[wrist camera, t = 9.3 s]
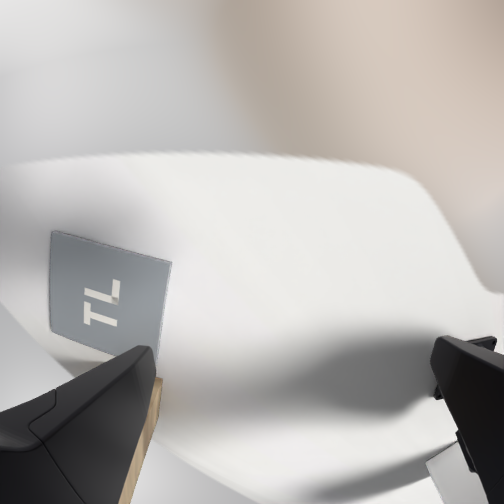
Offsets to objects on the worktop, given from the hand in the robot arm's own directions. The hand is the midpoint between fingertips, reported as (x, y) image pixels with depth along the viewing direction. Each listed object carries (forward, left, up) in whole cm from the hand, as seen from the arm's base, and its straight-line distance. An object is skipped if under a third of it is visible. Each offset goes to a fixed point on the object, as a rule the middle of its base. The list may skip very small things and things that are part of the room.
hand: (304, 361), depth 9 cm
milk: (-25, +29, -13) cm, 41 cm away
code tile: (+13, +4, -13) cm, 19 cm away
